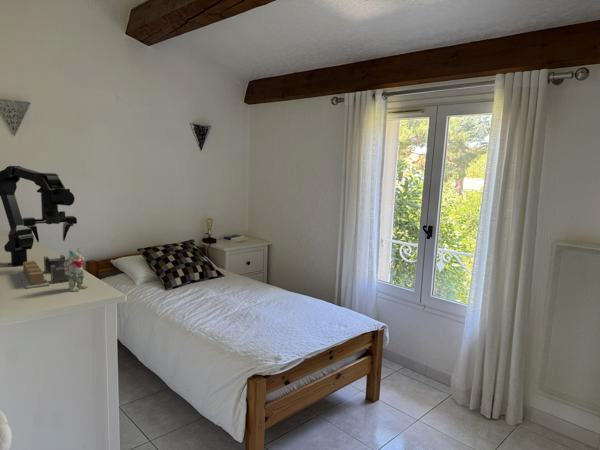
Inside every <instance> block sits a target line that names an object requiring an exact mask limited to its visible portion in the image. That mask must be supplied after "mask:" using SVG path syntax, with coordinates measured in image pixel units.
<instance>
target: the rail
mask: <svg viewBox="0 0 600 450" xmlns="http://www.w3.org/2000/svg"><path fill="white" fill-rule="evenodd" d="M22 269H23V270H22V271H23V272H24V274H25V276H26V277H27V279H28V281H29V283H30V285H39V284H44V277H45V275H44V272H43V271H42V269H41V268H40V267H39V265H38V263H37V262H36V260H32V261H31V260H30V261H28V260H27V262H23V265H22Z"/></svg>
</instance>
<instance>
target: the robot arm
mask: <svg viewBox="0 0 600 450" xmlns="http://www.w3.org/2000/svg"><path fill="white" fill-rule="evenodd" d="M21 179H24V180H27V181H30V182H33V183H34V184H35V185H36V186H38V187H39V188H38V189H36V193H40V202H41V218H35V217H34V216H33V217H32V216H31V217H29V216H28V217H23V218H22V214H21V211H20V208H19V205H18V200H17V198H16V195H15V194H16V190H17V188H18V187H17V183H18V182H19V181H20V180H21ZM0 199H1V202H2V205H3V208H4V212H5V215H6V218H7V222H8V225H9V228H10V230H9V233H8V235H7V237H8V238H7V239H8V241H7V242H6V244H5V245H4V252H6V253H7V252H8V253H10V262H7V264H8V265H9V266H12V267H18V266H19V267H20V266H23V262H28V251H27V250H32V249H33V245H34V242H35V240H36V242H37V243H39V242H40V239H39V233H38V226H37V224H46V225H54V224H55V225H60V223H61V224H63V225H62V241H64V242H65V240H66V237H67V234H68V232H69V230H70V228H71V227H73V226H74V225H77V224H78V218H77V217H76V216H74V215H66V212H65V210H64V211H59V209H58V208H59V207H58V206H68V207H70V206H72V205H73V204H74V202H75V200H76V199H75V195H74V194H73V192H71V189H70V188H66V187H65V185H64V184H63V182H62V180H61V178H60V177H59V174H57V173H54V172H39V171H37V170H36V171H35V170H33V169H29V168H25V167H24V166H23V167H22V166H20V165H8V166H7V167H5V168H4V169H3V170H0ZM34 238H35V239H34Z"/></svg>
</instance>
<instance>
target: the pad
mask: <svg viewBox="0 0 600 450" xmlns="http://www.w3.org/2000/svg"><path fill="white" fill-rule="evenodd" d="M19 274H20V275H19ZM18 275H19V276H21V277H20V278H21V281H22V280H23V281H22V282H24V283H23V284H25V285H24V286H25V289H26V290H27V289H36V288H43V287H44V288H45V287H50V283H49V281H48V280H47V279H46V277H45V276H44V284H39V285H30V283H29V281H28V279H27V277H26V276H25V274H24V272H23V270H19V271H18Z"/></svg>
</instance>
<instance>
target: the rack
mask: <svg viewBox="0 0 600 450" xmlns="http://www.w3.org/2000/svg"><path fill="white" fill-rule="evenodd" d="M65 260H66V256H65V255H64V254H60V255H59V257H55V258H49V257H48V256H43V268H44V270H43V271H44V272H43V273H45V274H46V275H47V274H50V282H51V283H52V284H59V283H60V284H61V283H67V282H68V281H69V280H70V279H69V277H70V276H69V275H65V270H64V268H63V267H62V265H63V264H64V263H65ZM68 283H69V282H68Z"/></svg>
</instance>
